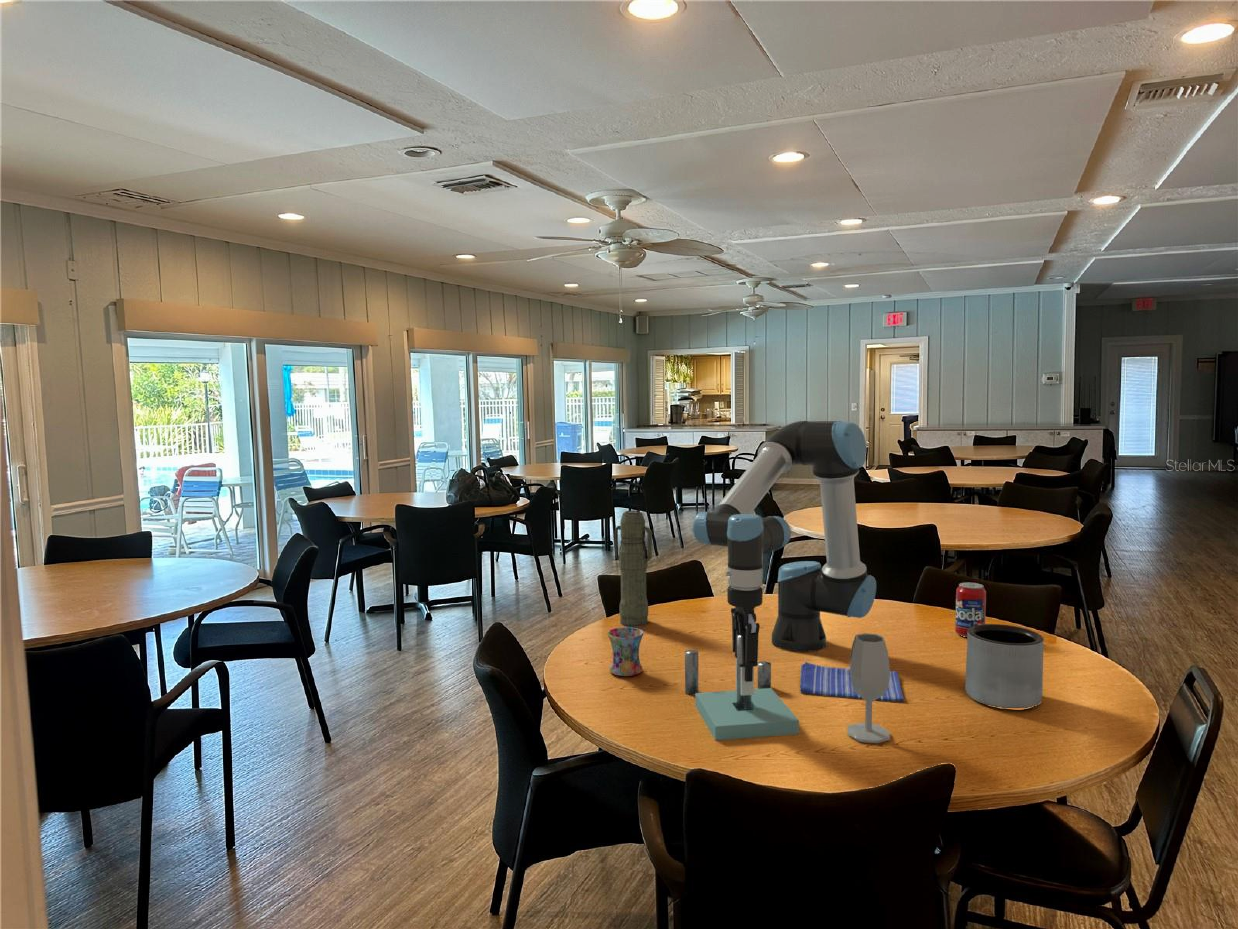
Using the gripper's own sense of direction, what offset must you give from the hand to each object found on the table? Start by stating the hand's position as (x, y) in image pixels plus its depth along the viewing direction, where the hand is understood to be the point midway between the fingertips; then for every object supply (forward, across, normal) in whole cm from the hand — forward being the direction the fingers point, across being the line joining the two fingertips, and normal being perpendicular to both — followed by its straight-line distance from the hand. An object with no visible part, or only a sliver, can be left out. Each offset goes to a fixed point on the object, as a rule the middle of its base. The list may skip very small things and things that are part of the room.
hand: (744, 691), depth 172 cm
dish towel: (+7, -15, +31) cm, 35 cm away
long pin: (+4, 0, 0) cm, 4 cm away
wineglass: (+7, +12, +23) cm, 27 cm away
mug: (+7, -34, -21) cm, 41 cm away
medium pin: (+6, -17, -8) cm, 20 cm away
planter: (+7, -1, +62) cm, 62 cm away
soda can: (+6, -45, +81) cm, 93 cm away
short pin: (+6, -17, +10) cm, 21 cm away
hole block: (+6, 0, 0) cm, 6 cm away
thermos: (+6, -75, -13) cm, 76 cm away
